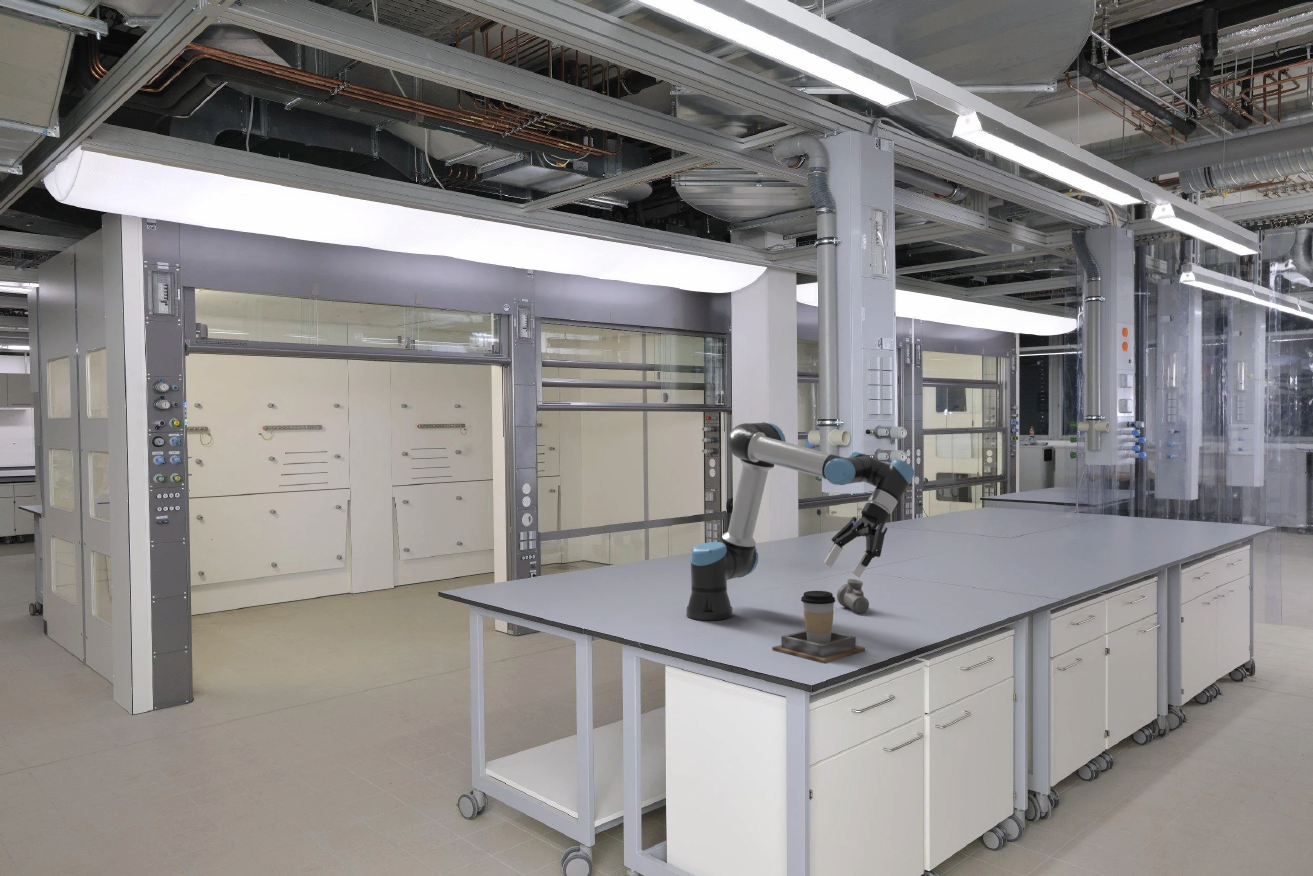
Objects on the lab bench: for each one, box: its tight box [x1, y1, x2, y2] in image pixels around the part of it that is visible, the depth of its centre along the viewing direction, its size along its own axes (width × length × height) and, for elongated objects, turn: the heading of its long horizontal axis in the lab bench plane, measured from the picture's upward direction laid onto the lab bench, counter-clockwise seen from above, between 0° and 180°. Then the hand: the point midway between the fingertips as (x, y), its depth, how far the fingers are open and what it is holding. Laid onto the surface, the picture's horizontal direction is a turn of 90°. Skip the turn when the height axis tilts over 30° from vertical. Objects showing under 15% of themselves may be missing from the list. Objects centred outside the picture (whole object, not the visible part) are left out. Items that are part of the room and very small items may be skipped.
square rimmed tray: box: [771, 629, 866, 664], centre depth 244 cm, size 18×18×4 cm
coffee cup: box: [800, 590, 836, 644], centre depth 243 cm, size 9×9×15 cm
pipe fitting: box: [836, 578, 870, 615], centre depth 293 cm, size 12×8×10 cm
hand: (841, 569), depth 252 cm, fingers open, 13 cm apart
